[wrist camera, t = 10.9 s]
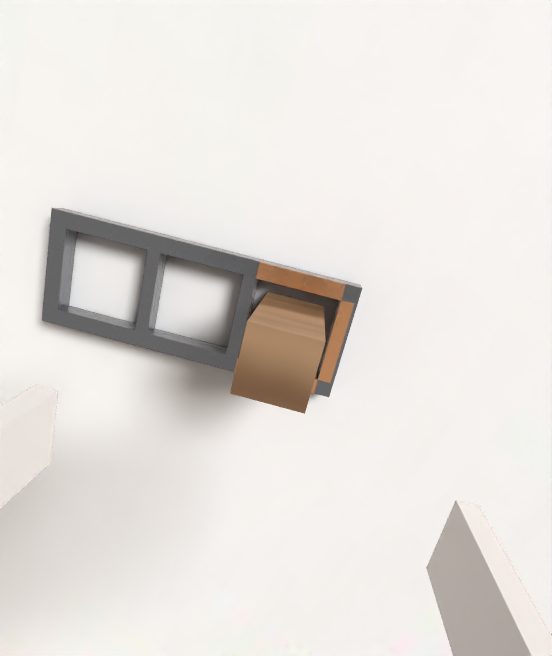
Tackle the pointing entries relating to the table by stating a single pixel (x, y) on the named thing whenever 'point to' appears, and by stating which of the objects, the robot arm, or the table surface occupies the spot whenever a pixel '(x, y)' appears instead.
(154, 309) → the rack
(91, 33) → the table surface
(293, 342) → the walnut block
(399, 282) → the table surface
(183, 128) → the table surface
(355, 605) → the table surface
